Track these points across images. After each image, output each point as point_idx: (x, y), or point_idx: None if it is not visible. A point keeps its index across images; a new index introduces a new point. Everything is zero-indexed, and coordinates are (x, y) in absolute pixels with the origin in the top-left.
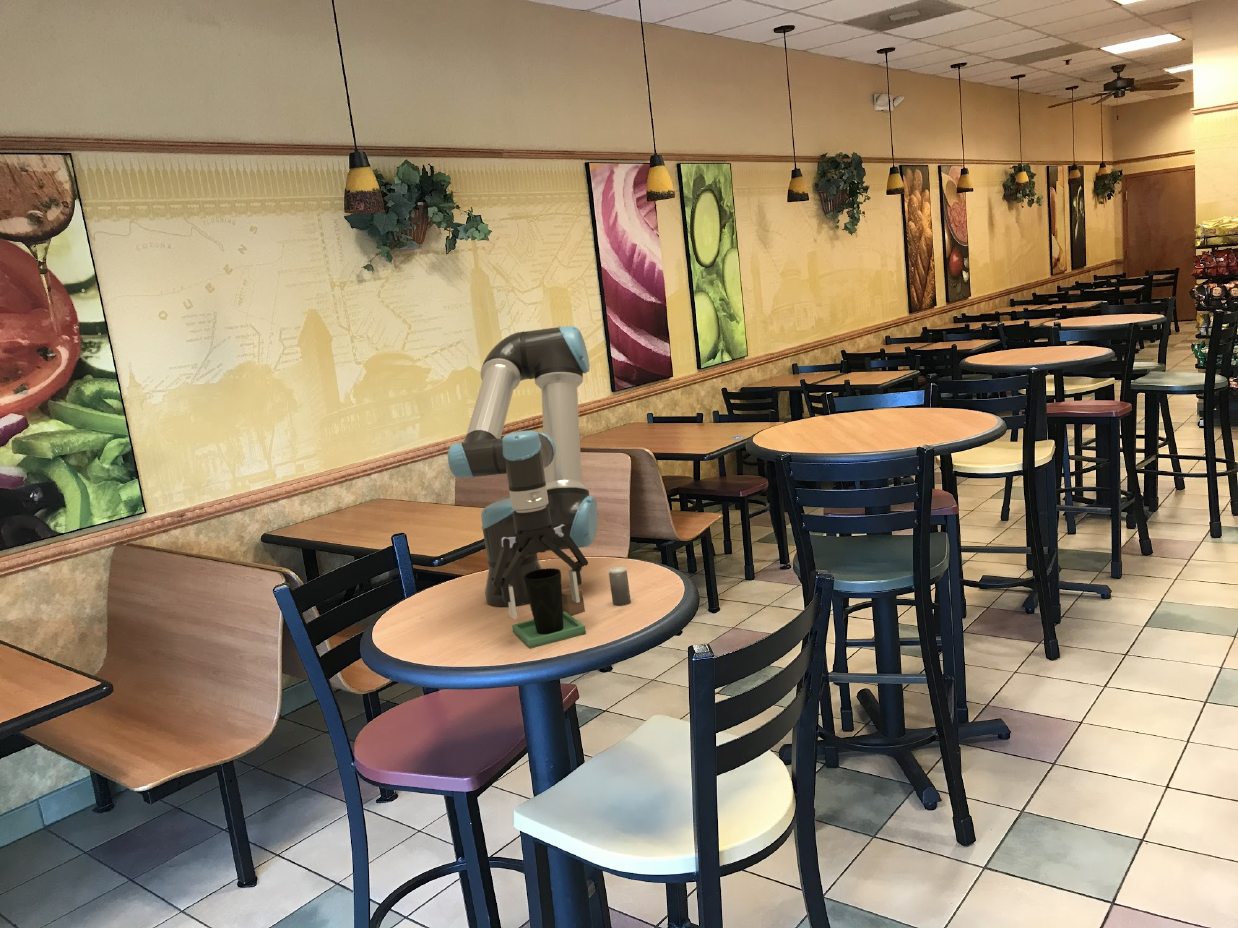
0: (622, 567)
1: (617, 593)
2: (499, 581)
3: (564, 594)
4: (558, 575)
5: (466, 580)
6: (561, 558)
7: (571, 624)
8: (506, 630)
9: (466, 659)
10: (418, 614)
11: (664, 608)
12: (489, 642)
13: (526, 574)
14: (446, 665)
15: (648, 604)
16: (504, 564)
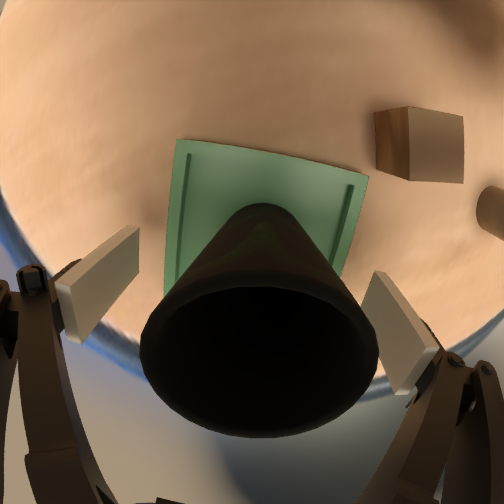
0: None
1: (497, 231)
2: (17, 346)
3: (409, 163)
4: (306, 426)
5: None
6: (394, 448)
7: (327, 257)
8: (178, 106)
9: (50, 233)
10: None
11: (481, 314)
12: (107, 167)
13: (174, 307)
14: (23, 231)
15: (494, 270)
16: (1, 419)
